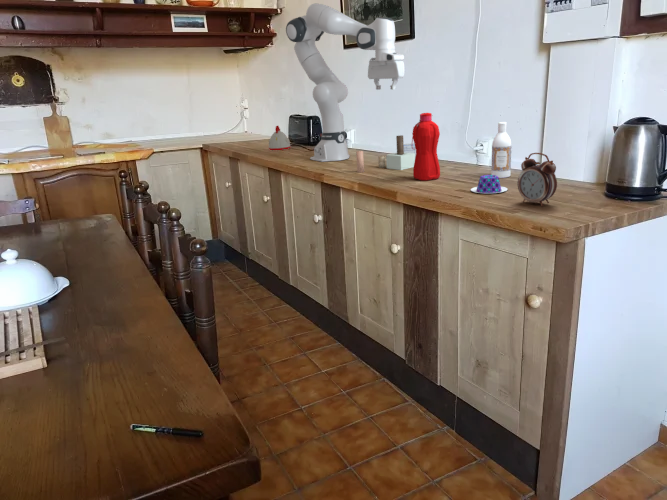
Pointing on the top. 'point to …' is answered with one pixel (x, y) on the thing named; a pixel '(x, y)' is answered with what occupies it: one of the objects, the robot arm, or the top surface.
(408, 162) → the hole block
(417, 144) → the water bottle
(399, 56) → the robot arm
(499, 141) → the bath foam
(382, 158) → the short pin
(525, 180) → the alarm clock
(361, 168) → the medium pin
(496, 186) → the pudding
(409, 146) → the medicine box
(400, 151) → the long pin
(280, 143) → the kitchen timer
